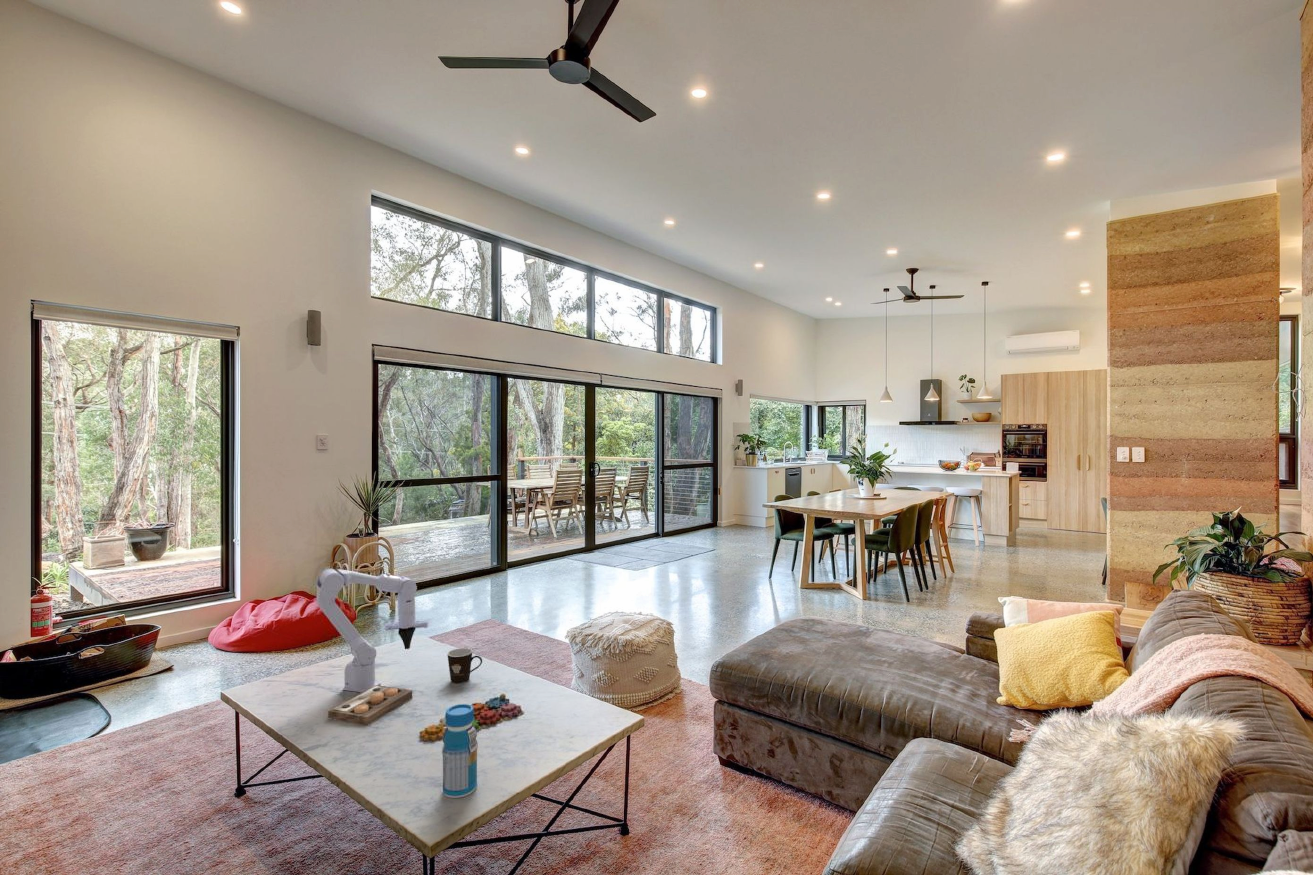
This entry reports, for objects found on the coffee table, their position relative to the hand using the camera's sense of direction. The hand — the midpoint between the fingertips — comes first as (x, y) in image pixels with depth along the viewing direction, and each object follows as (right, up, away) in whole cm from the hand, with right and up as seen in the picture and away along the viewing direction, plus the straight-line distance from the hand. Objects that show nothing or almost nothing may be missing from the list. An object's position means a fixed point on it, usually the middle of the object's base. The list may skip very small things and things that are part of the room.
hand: (407, 648), depth 219 cm
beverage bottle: (+42, -11, -70) cm, 82 cm away
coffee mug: (+22, -11, -4) cm, 24 cm away
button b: (+1, -8, -26) cm, 27 cm away
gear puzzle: (+33, -11, -34) cm, 49 cm away
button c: (+3, -9, -19) cm, 22 cm away
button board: (-1, -11, -25) cm, 27 cm away
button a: (-1, -10, -32) cm, 33 cm away
